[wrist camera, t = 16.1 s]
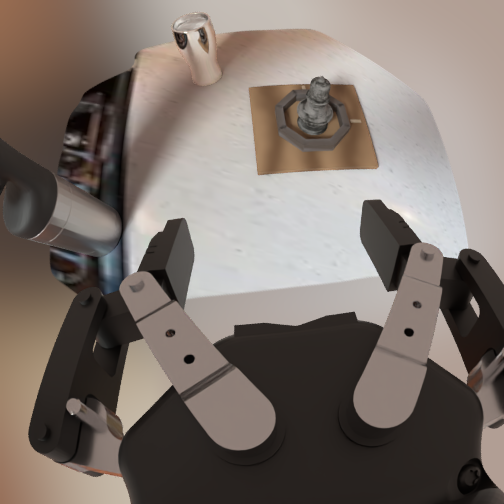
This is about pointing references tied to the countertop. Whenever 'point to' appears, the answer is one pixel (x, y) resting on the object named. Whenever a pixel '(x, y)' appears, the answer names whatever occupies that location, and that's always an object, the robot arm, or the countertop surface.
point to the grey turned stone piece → (315, 108)
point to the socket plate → (302, 144)
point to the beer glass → (198, 46)
